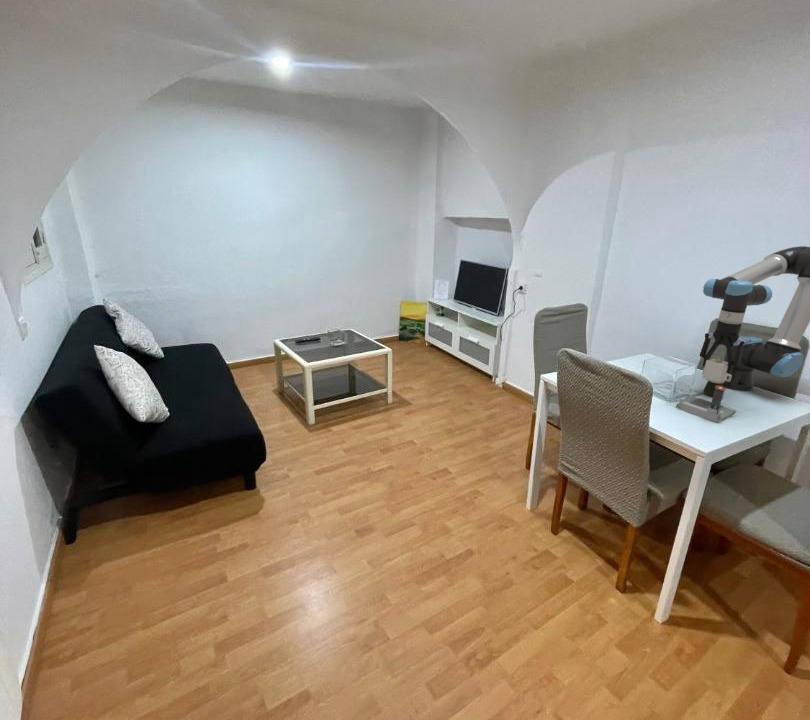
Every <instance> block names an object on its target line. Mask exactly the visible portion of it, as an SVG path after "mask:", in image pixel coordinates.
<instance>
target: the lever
mask: <svg viewBox="0 0 810 720" xmlns="http://www.w3.org/2000/svg"><path fill="white" fill-rule="evenodd" d="M726 390H727V388H726V387H724V386H720V385H716V386H715V392H714V396H712V399H711V402H712V403H711V406H710V407H708V410H707V412H710V413H713V414H716V415H717V414H718V413H719V412H720V411H721V408H719V407H720V405H722V404H721V403H722V400H723V396H724V393H725V391H726Z"/></svg>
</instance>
